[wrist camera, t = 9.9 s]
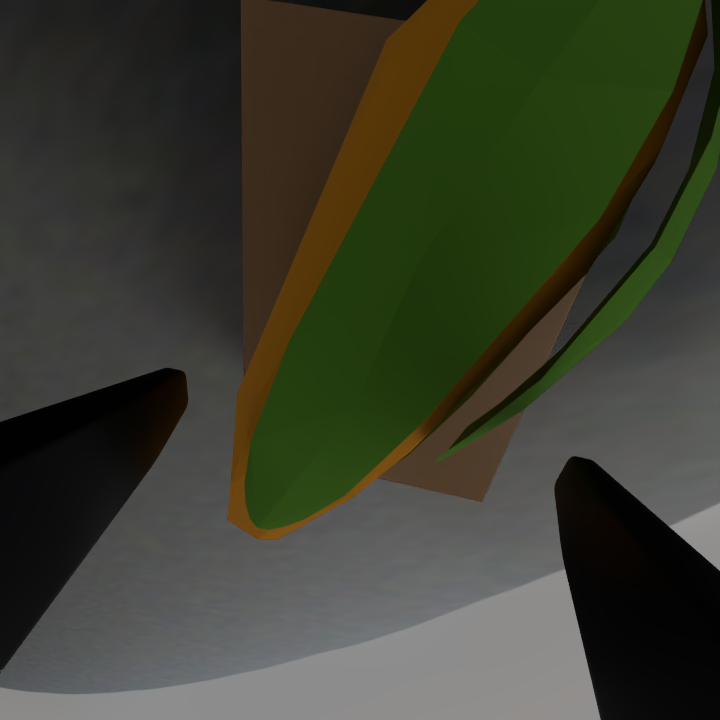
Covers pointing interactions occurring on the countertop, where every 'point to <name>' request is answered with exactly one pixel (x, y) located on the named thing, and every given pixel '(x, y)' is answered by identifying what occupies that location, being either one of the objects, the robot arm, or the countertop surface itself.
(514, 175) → the corn
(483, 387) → the takeaway box
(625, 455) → the countertop surface
